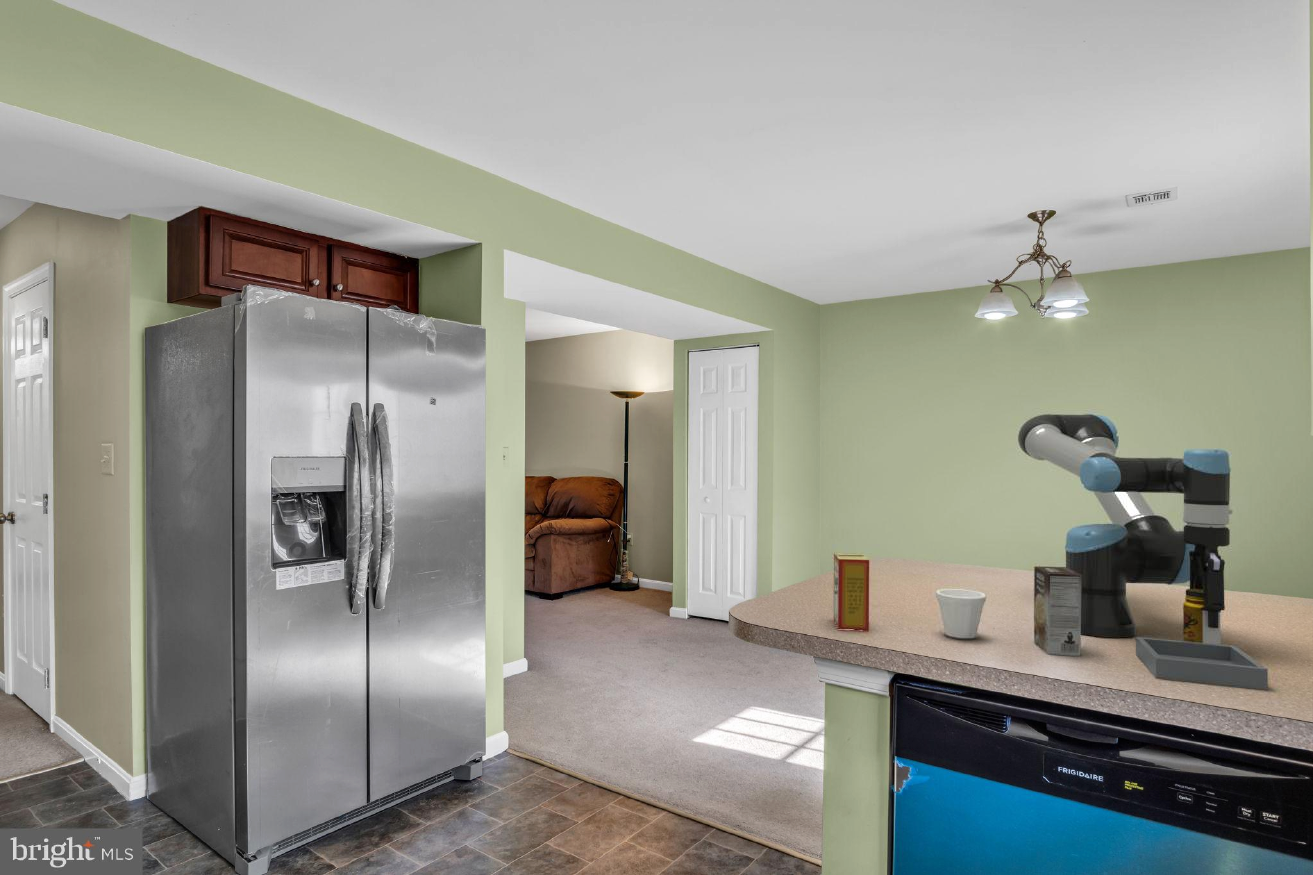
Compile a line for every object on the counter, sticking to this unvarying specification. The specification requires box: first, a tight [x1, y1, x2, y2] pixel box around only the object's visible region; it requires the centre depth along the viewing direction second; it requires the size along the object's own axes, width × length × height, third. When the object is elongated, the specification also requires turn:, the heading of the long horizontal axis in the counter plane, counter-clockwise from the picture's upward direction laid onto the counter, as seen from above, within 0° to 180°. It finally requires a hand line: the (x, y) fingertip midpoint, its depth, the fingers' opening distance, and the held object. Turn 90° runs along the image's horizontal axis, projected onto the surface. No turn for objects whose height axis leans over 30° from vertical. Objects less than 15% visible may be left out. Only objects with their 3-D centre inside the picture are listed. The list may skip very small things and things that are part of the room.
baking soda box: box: [833, 552, 870, 632], centre depth 168 cm, size 10×6×16 cm
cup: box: [935, 588, 987, 641], centre depth 159 cm, size 10×10×9 cm
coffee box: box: [1033, 566, 1082, 657], centre depth 150 cm, size 9×6×16 cm
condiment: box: [1182, 588, 1216, 643], centre depth 150 cm, size 7×8×12 cm
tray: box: [1135, 636, 1269, 691], centre depth 136 cm, size 16×16×4 cm
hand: (1206, 639), depth 150 cm, fingers closed on condiment, 6 cm apart
